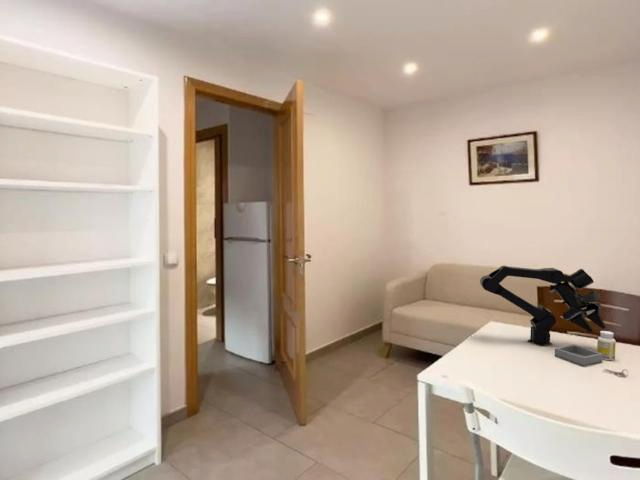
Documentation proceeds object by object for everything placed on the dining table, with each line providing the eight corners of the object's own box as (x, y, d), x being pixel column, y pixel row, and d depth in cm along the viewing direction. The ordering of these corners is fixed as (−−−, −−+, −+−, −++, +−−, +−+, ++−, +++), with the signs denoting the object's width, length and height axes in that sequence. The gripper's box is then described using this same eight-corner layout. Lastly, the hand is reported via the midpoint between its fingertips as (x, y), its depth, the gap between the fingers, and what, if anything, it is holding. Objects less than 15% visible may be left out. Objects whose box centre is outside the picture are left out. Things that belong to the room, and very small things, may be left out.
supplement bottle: (608, 355, 146) (610, 330, 145) (618, 361, 140) (619, 334, 140) (593, 355, 146) (594, 329, 145) (602, 360, 141) (604, 334, 140)
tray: (554, 356, 145) (554, 348, 144) (573, 352, 149) (573, 344, 148) (583, 366, 135) (583, 358, 135) (602, 362, 139) (602, 353, 139)
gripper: (572, 286, 144) (603, 322, 135) (597, 282, 153) (628, 315, 145) (550, 302, 152) (578, 337, 143) (575, 297, 161) (603, 330, 152)
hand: (598, 329), depth 145 cm, fingers open, 9 cm apart
